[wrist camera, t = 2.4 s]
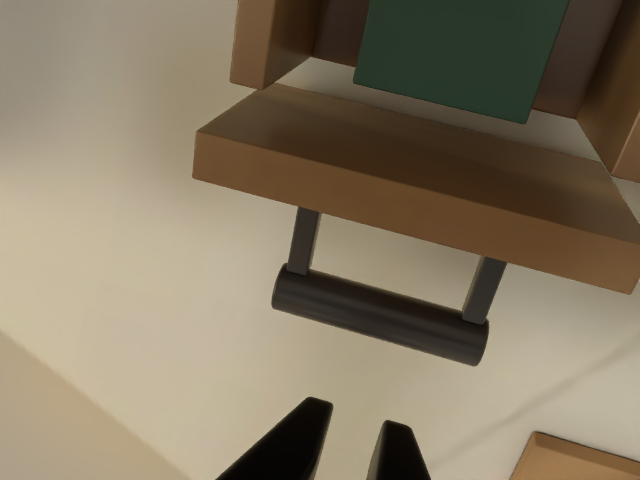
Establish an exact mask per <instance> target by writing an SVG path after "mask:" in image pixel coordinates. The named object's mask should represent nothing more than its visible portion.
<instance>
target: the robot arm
mask: <svg viewBox="0 0 640 480" xmlns="http://www.w3.org/2000/svg"><path fill="white" fill-rule="evenodd" d="M332 412H333V404H332V403H330V402H328V401H324V400H321V399H318V398H314V397H307V398H306V399H305V400H303V401H302V402H301V403H300V404H299V405H298V406H297V407H296V408H295V409H293V410H292V411H291V412H290V413H289V414H288V415H287V416H286V417H285V418H283V419H282V420H281V421H280V422H279V423H278V424H277V425H276V426H275V427H273V428H272V429H271V430H270V431H269V432H268V433H267V434H266V435H264V436H263V437H262V438H261V439H260V440H259V441H258V442H257V443H256V444H254V445H253V446H252V447H251V448H250V449H249V450H248V451H247V452H246V453H244V454H243V455H242V456H241V457H240V458H239V459H238V460H237V461H236V462H234V463H233V464H232V465H231V466H230V467H229V468H228V469H227V470H226V471H224V472H223V473H222V474H221V475H220V476H219V477H218V478H217V479H216V480H314V478H315V475H316V471H317V468H318V464H319V460H320V457H321V453H322V450H323V446H324V442H325V438H326V435H327V431H328V427H329V423H330V419H331V416H332ZM366 480H431V478H430V475H429V473H428V470H427V468H426V465H425V462H424V460H423V457H422V454H421V452H420V449H419V447H418V444H417V441H416V439H415V436H414V433H413V431H412V429H411V428H410V427H409V426H407V425H404V424H400V423H397V422H394V421H390V420H386V421H384V422H383V424H382V427H381V430H380V433H379V436H378V439H377V443H376V446H375V449H374V452H373V455H372V458H371V462H370V466H369V470H368V474H367V478H366Z"/></svg>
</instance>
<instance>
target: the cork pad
mask: <svg viewBox="0 0 640 480" xmlns="http://www.w3.org/2000/svg"><path fill="white" fill-rule="evenodd" d="M510 480H640V463H639V462H635V461H632V460H628V459H625V458H622V457H618V456H615V455H612V454H608V453H605V452H602V451H598V450H595V449H591V448H588V447H585V446H581V445H578V444H575V443H571V442H568V441H564V440H561V439H558V438H554V437H551V436H548V435H544V434H541V433H538V432H533V434H532V436H531V438H530V440H529V442H528V444H527V446H526V449H525V451H524V453H523V455H522V457H521V459H520V461H519V463H518V465H517V467H516V469H515V471H514V473H513V475H512V477H511V479H510Z"/></svg>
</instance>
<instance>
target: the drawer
mask: <svg viewBox="0 0 640 480" xmlns="http://www.w3.org/2000/svg"><path fill="white" fill-rule="evenodd" d="M369 2H370V0H238V8H237V17H236V26H235V35H234V44H233V53H232V62H231V71H230V82H231V83H234V84H238V85H242V86H246V87H250V88H254V89H258V90H256V91H255V92H253V93H252V94H250V95H249V96H247V97H246V98H245V99H243V100H242V101H240V102H239V103H237V104H236V105H234V106H233V107H231V108H230V109H228V110H227V111H225V112H224V113H222V114H221V115H219V116H218V117H216V118H215V119H213V120H212V121H210V122H209V123H208V124H206V125H205V126H203V127H202V128H200V129H199V130H197V131H196V139H195V150H194V161H193V173H192V178H194V179H197V180H201V181H205V182H208V183H212V184H216V185H220V186H223V187H227V188H231V189H235V190H238V191H242V192H246V193H250V194H253V195H257V196H261V197H265V198H268V199H272V200H276V201H280V202H283V203H287V204H291V205H295V206H298V210H297V216H296V221H295V227H294V232H293V238H292V243H291V248H290V254H289V259H288V263H284V264H283V266H282V267H281V269H280V271H279V274H278V276H277V279H276V282H275V286H274V290H273V294H272V301H271V304H272V308H273V309H276V310H279V311H282V312H286V313H289V314H293V315H296V316H300V317H303V318H307V319H310V320H314V321H317V322H321V323H324V324H328V325H331V326H335V327H338V328H341V329H345V330H348V331H352V332H355V333H359V334H362V335H366V336H369V337H373V338H376V339H380V340H383V341H387V342H390V343H394V344H397V345H401V346H404V347H407V348H411V349H414V350H418V351H421V352H425V353H428V354H432V355H435V356H439V357H442V358H446V359H449V360H453V361H456V362H460V363H463V364H466V365H470V366H477V365H478V364H479V362H480V361H481V359H482V356H483V354H484V351H485V348H486V344H487V340H488V334H489V321H488V319H487V318H486V317H487V314H488V311H489V309H490V306H491V304H492V301H493V298H494V296H495V293H496V291H497V288H498V286H499V283H500V280H501V278H502V275H503V273H504V270H505V268H506V265H507V262H508V263H512V264H516V265H520V266H523V267H527V268H531V269H535V270H538V271H542V272H546V273H550V274H553V275H557V276H561V277H565V278H568V279H572V280H576V281H580V282H583V283H587V284H591V285H595V286H598V287H602V288H606V289H610V290H613V291H617V292H621V293H625V294H628V295H631V294H632V292H633V290H634V288H635V286H636V284H637V282H638V280H639V278H640V224H639V223H638V221H637V220H636V218H635V216H634V215H633V213H632V211H631V210H630V208H629V207H628V205H627V203H626V202H625V200H624V199H623V197H622V195H621V194H620V192H619V190H618V189H617V187H616V186H615V184H614V182H613V181H612V179H611V177H610V176H609V174H608V173H607V171H606V169H605V168H604V166H603V164H602V163H601V162H598V161H594V160H589V159H585V158H581V157H577V156H573V155H569V154H565V153H561V152H557V151H553V150H548V149H544V148H540V147H536V146H532V145H528V144H524V143H520V142H516V141H512V140H507V139H503V138H499V137H495V136H491V135H487V134H483V133H479V132H475V131H470V130H466V129H462V128H458V127H454V126H450V125H446V124H442V123H438V122H434V121H429V120H425V119H421V118H417V117H413V116H409V115H405V114H401V113H397V112H393V111H388V110H384V109H380V108H376V107H372V106H368V105H364V104H360V103H356V102H352V101H347V100H343V99H339V98H335V97H331V96H327V95H323V94H319V93H315V92H311V91H306V90H302V89H298V88H294V87H290V86H286V85H282V84H278V83H274V82H275V81H277V80H278V79H280V78H281V77H283V76H284V75H286V74H287V73H288V72H290V71H291V70H293V69H294V68H296V67H297V66H298V65H300V64H301V63H303V62H304V61H306V60H307V59H309V58H310V57H314V58H318V59H322V60H326V61H331V62H335V63H339V64H343V65H348V66H352V67H356V64H357V59H358V55H359V50H360V45H361V40H362V35H363V31H364V26H365V21H366V16H367V12H368V7H369ZM531 109H533V110H537V111H542V112H546V113H550V114H554V115H558V116H563V117H567V118H571V119H575V120H577V122H578V123H579V125H580V127H581V128H582V130H583V131H584V133H585V135H586V136H587V138H588V139H589V141H590V143H591V144H592V146H593V147H594V149H595V151H596V152H597V154H598V155H599V157H600V159H601V160H602V162H603V163H604V165H605V167H606V168H607V170H608V171H609V173H610V175H612V176H613V177H617V178H621V179H625V180H630V181H634V182H638V183H640V0H570V2H569V5H568V8H567V11H566V14H565V16H564V19H563V22H562V25H561V27H560V30H559V33H558V36H557V39H556V41H555V44H554V47H553V50H552V53H551V55H550V58H549V61H548V64H547V66H546V69H545V72H544V75H543V78H542V80H541V83H540V86H539V89H538V91H537V94H536V97H535V100H534V103H533V105H532V108H531ZM322 213H325V214H328V215H332V216H336V217H340V218H343V219H347V220H351V221H355V222H358V223H362V224H366V225H370V226H373V227H377V228H381V229H385V230H388V231H392V232H396V233H400V234H403V235H407V236H411V237H415V238H418V239H422V240H426V241H430V242H433V243H437V244H441V245H445V246H448V247H452V248H456V249H460V250H463V251H467V252H471V253H475V254H478V255H481V258H480V260H479V263H478V266H477V269H476V272H475V274H474V277H473V280H472V283H471V285H470V288H469V291H468V294H467V296H466V299H465V302H464V305H463V307H462V311H460V310H456V309H452V308H449V307H445V306H442V305H438V304H434V303H431V302H427V301H424V300H420V299H416V298H413V297H409V296H406V295H402V294H398V293H395V292H391V291H388V290H384V289H381V288H377V287H373V286H370V285H366V284H363V283H359V282H355V281H352V280H348V279H345V278H341V277H337V276H334V275H330V274H327V273H323V272H319V271H316V270H312V269H310V267H311V264H312V259H313V254H314V249H315V245H316V240H317V235H318V230H319V225H320V220H321V215H322Z"/></svg>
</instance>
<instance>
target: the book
mask: <svg viewBox="0 0 640 480" xmlns="http://www.w3.org/2000/svg"><path fill="white" fill-rule="evenodd" d="M569 2H570V0H370V2H369V7H368V12H367V16H366V21H365V26H364V31H363V35H362V40H361V45H360V50H359V55H358V59H357V64H356V69H355V74H354V78H353V83H354V84H358V85H362V86H366V87H370V88H375V89H379V90H383V91H387V92H391V93H395V94H400V95H404V96H408V97H412V98H416V99H420V100H425V101H429V102H433V103H437V104H441V105H445V106H450V107H454V108H458V109H462V110H466V111H470V112H474V113H479V114H483V115H487V116H491V117H495V118H499V119H504V120H508V121H512V122H516V123H520V124H526V122H527V119H528V117H529V114H530V111H531V108H532V105H533V103H534V100H535V97H536V94H537V91H538V89H539V86H540V83H541V80H542V78H543V75H544V72H545V69H546V66H547V64H548V61H549V58H550V55H551V53H552V50H553V47H554V44H555V41H556V39H557V36H558V33H559V30H560V27H561V25H562V22H563V19H564V16H565V14H566V11H567V8H568V5H569Z"/></svg>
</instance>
